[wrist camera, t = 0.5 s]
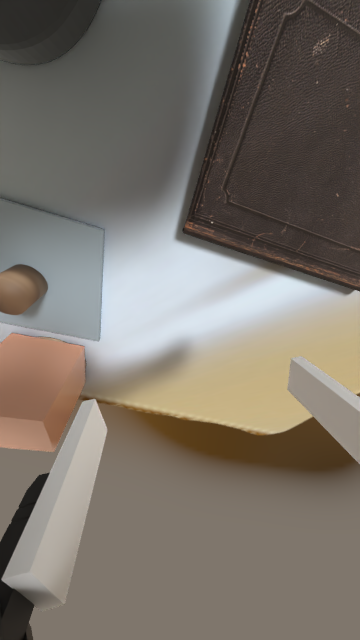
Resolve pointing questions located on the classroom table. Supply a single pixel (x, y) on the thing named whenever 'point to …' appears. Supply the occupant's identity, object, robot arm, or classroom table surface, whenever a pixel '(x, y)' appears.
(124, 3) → the classroom table surface
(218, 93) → the classroom table surface
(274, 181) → the hardcover book
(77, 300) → the felt mat
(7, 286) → the walnut cylinder
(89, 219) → the classroom table surface
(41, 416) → the pink block
